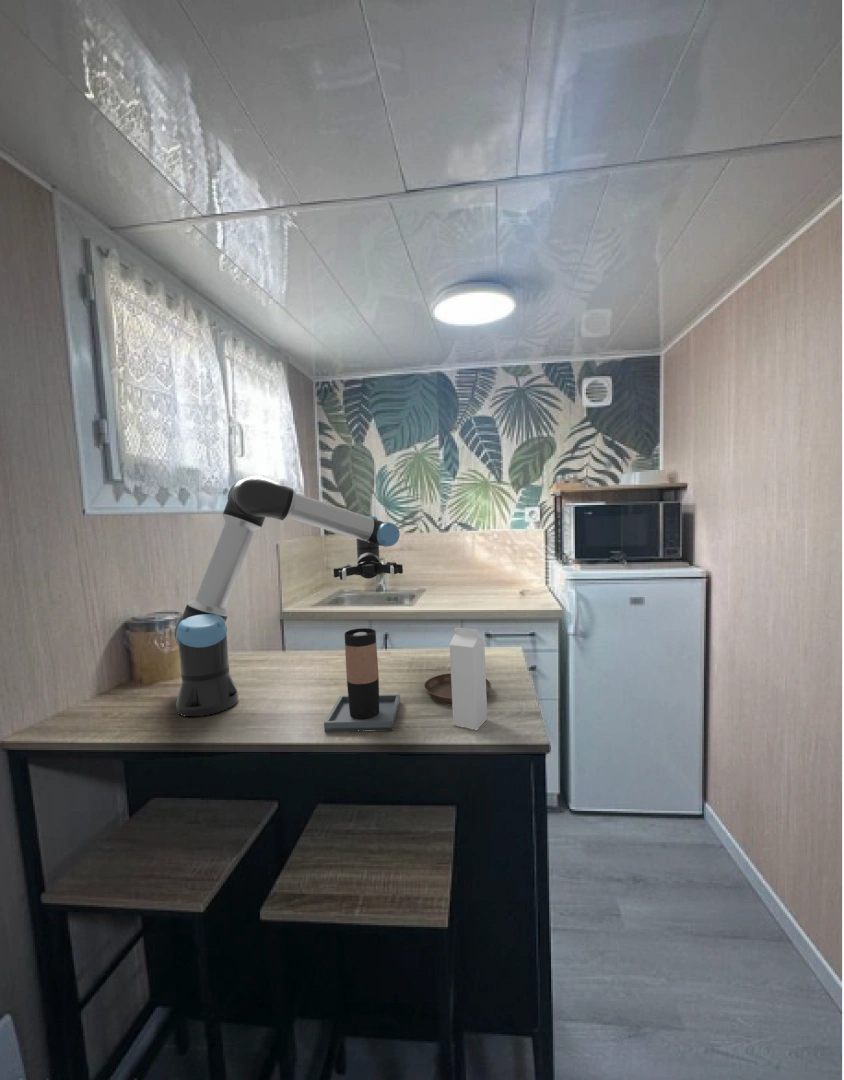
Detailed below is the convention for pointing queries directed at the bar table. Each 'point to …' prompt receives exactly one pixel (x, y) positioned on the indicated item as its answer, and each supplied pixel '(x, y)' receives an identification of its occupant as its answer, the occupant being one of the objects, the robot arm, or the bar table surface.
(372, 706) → the travel mug
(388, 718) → the tray
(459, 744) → the bar table surface
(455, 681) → the milk
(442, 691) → the plant saucer
